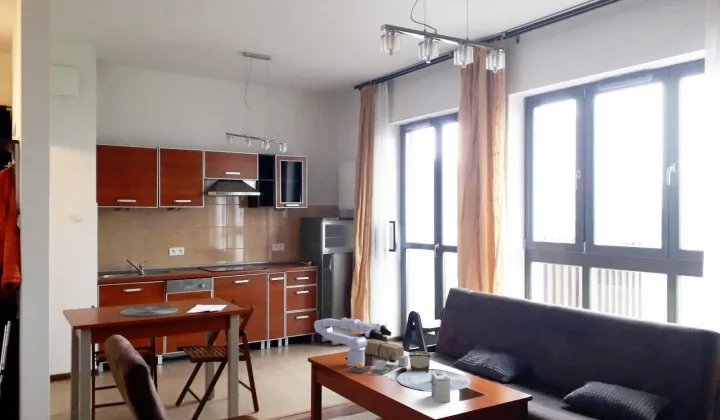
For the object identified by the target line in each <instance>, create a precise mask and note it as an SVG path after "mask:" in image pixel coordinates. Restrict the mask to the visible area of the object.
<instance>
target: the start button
mask: <svg viewBox="0 0 720 420" xmlns="http://www.w3.org/2000/svg"><path fill="white" fill-rule="evenodd" d="M355 366H356V368H359V369H363V368H364V366H365V364H364V363H356V365H355Z"/></svg>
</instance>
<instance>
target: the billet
mask: <svg viewBox="0 0 720 420" xmlns="http://www.w3.org/2000/svg"><path fill="white" fill-rule="evenodd" d="M398 367H402V368H405V367H409V355H408V356H407V355H403V356H400V357H399V360H398Z"/></svg>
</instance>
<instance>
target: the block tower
mask: <svg viewBox="0 0 720 420" xmlns="http://www.w3.org/2000/svg"><path fill="white" fill-rule="evenodd" d="M365 354H369V355H373V356H376V357H380V358H384V359H388V360H391V361H396V362H397V361H399V357H400V356H404V346H403V345H400V344H395V343H391V342H390V343H389V342H388V341H383V340H380V339H371V340H370V339H369V338H368V339H367V346H366V347H365Z"/></svg>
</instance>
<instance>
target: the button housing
mask: <svg viewBox="0 0 720 420" xmlns="http://www.w3.org/2000/svg"><path fill="white" fill-rule="evenodd" d="M349 372H350V373H357V374H363V375H364V374H367V373H369V372H371V365H370V366H368V365H364V368H363V369H359V368H356V365H355V366H350V368H349Z"/></svg>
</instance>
